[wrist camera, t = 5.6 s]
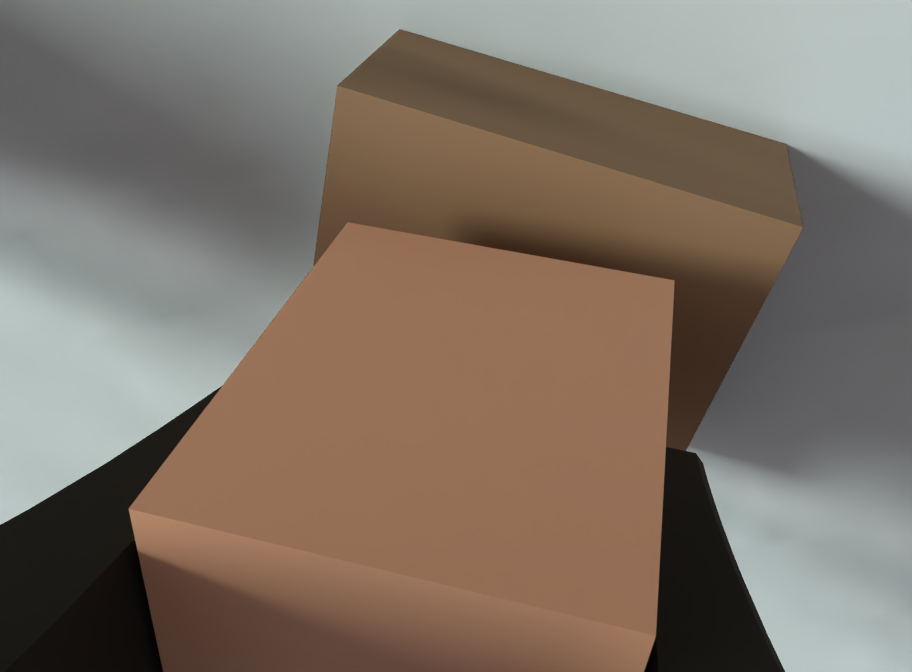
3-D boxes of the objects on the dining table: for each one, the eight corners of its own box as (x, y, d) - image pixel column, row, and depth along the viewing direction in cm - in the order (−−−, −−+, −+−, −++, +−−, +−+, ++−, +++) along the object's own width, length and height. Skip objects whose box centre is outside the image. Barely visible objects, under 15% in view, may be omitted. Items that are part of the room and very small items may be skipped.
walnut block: (647, 425, 16) (637, 541, 14) (351, 329, 17) (292, 426, 14) (784, 137, 13) (803, 227, 10) (404, 24, 13) (337, 85, 11)
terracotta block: (614, 519, 12) (570, 893, 8) (348, 459, 13) (187, 780, 9) (675, 280, 10) (655, 636, 6) (347, 222, 11) (129, 507, 7)
